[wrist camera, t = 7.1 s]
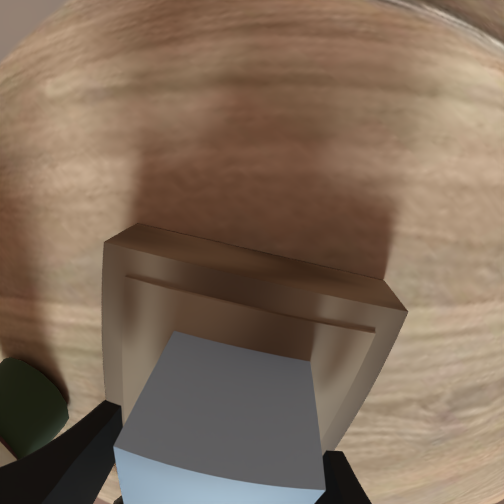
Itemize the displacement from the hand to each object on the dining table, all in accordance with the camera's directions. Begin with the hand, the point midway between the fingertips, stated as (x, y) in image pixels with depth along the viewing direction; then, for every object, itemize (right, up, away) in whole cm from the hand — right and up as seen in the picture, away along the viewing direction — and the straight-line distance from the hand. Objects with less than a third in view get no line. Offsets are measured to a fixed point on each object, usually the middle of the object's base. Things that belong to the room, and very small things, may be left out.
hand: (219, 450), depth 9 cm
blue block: (0, +1, +2) cm, 3 cm away
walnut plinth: (0, +2, +5) cm, 6 cm away
